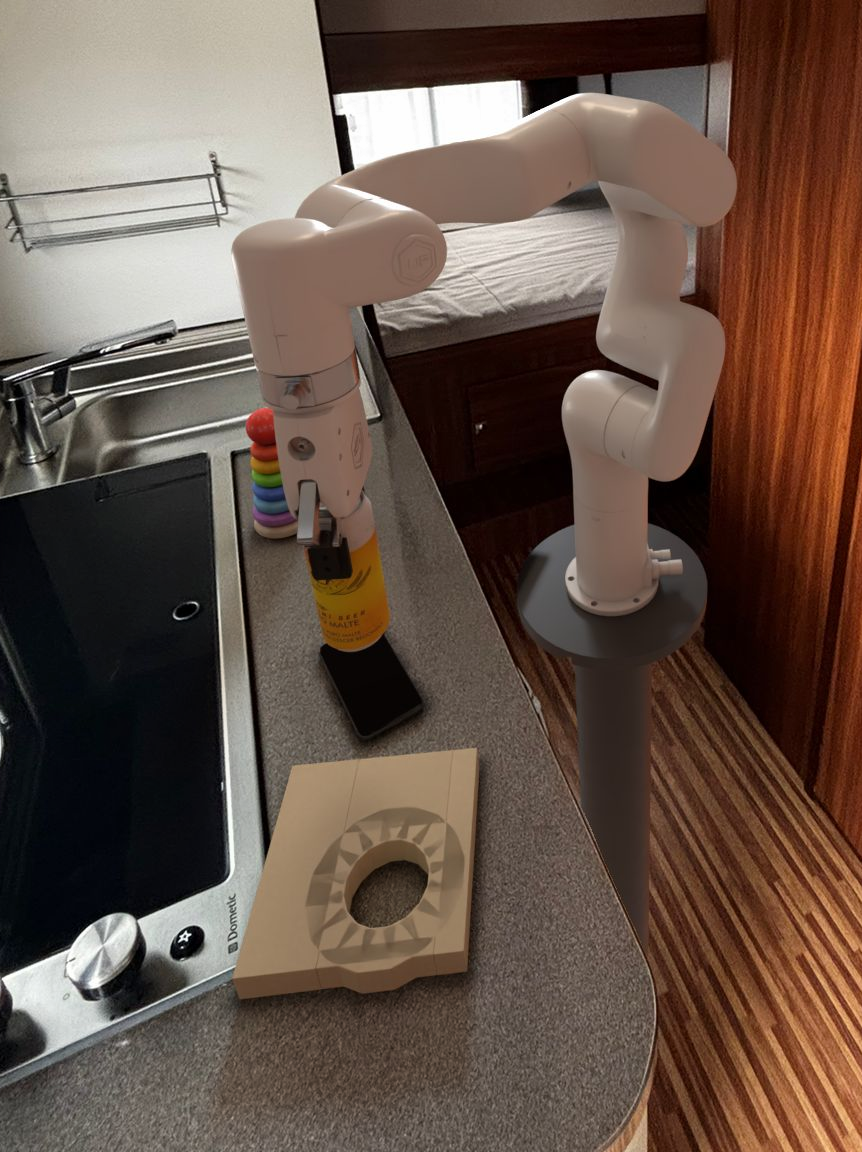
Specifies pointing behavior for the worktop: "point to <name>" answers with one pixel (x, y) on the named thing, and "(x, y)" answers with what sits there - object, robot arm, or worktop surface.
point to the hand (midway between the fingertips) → (342, 547)
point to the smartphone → (372, 686)
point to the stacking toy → (268, 479)
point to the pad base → (363, 875)
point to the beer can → (354, 586)
